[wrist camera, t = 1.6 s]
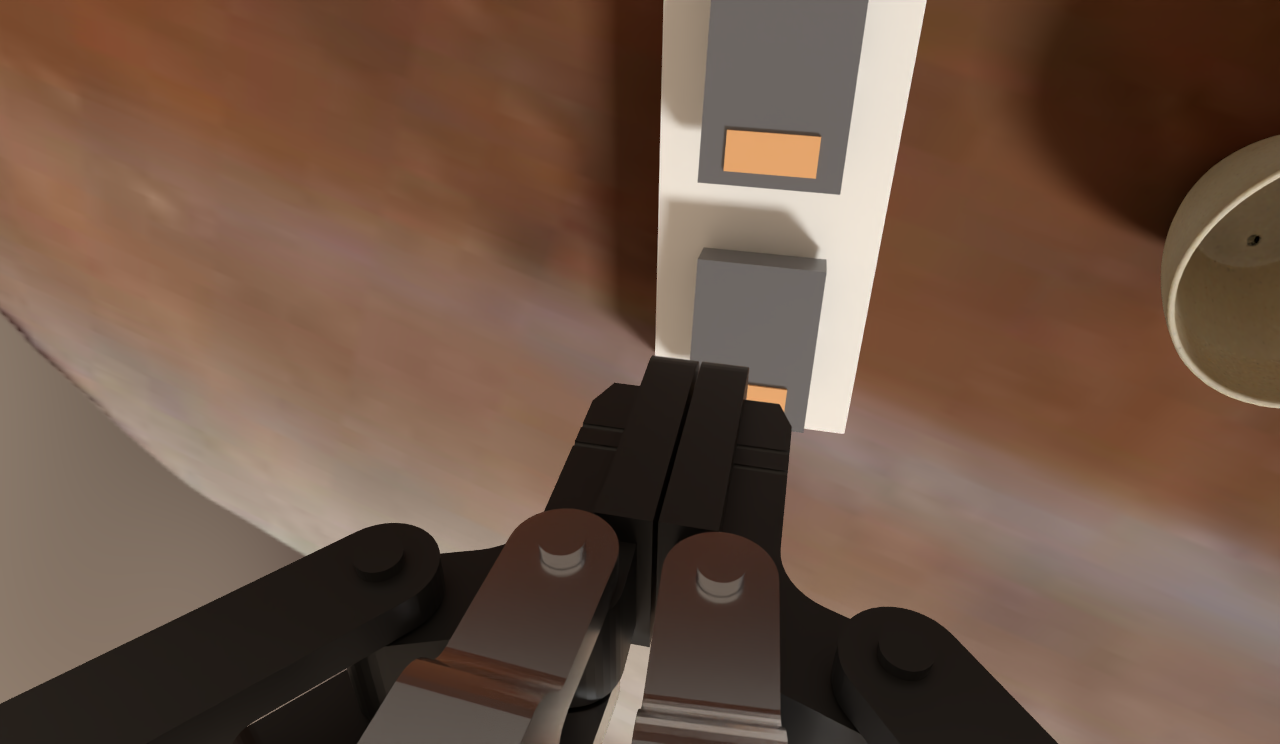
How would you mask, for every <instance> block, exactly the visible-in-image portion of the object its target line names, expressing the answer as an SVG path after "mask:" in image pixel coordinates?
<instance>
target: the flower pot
mask: <svg viewBox="0 0 1280 744" xmlns="http://www.w3.org/2000/svg"><path fill="white" fill-rule="evenodd" d="M1256 236H1259V241H1258V242H1257V243H1255V242H1254V239H1255V237H1256ZM1161 292H1162V302H1163V310H1164V315H1165V319H1166V323H1167V327H1168V330H1169V333H1170V336H1171V339H1172V342H1173V344H1174V347H1175V349H1176V351H1177V353H1178V354H1179V356H1180V358H1181V359H1182V360H1183V362H1184V363H1185V365H1186V366H1187V367H1188V368H1189V369H1190V370H1191V371H1192V372H1193V373H1194V374H1195V375H1196V376H1197V377H1198V378H1199V379H1201V380H1202V381H1203V382H1204V383H1205V384H1207V385H1208V386H1210V387H1212V388H1213V389H1215V390H1217V391H1218V392H1220V393H1222V394H1225V395H1227V396H1229V397H1232V398H1234V399H1237V400H1240V401H1243V402H1247V403H1251V404H1255V405H1259V406H1265V407H1272V408H1280V135H1276V136H1273V137H1270V138H1266V139H1263V140H1261V141H1258V142H1255V143H1253V144H1250V145H1248V146H1246V147H1244V148H1242V149H1240V150H1238V151H1236V152H1234V153H1232V154H1231V155H1229V156H1228V157H1226V158H1224V159H1223V160H1221V161H1220V162H1218V163H1217V164H1216V165H1214V166H1213V167H1212V168H1211V169H1209V170H1208V171H1207V172H1206V173H1205V174H1204V175H1203V176H1202V177H1201V178H1200V179H1199V180H1198V181H1197V182H1196V184H1195V185H1194V186H1193V187H1192V188H1191V190H1190V191H1189V192H1188V194H1187V195H1186V197H1185V198H1184V200H1183V201H1182V203H1181V205H1180V207H1179V209H1178V211H1177V213H1176V215H1175V217H1174V219H1173V221H1172V223H1171V226H1170V229H1169V231H1168V235H1167V238H1166V241H1165V246H1164V251H1163V257H1162V265H1161Z"/></svg>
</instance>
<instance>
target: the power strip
mask: <svg viewBox="0 0 1280 744" xmlns="http://www.w3.org/2000/svg"><path fill="white" fill-rule="evenodd" d="M926 1H927V0H869V1H868V8H867V15H866V22H865V28H864V35H863V42H862V49H861V56H860V63H859V70H858V76H857V83H856V90H855V97H854V104H853V111H852V118H851V124H850V131H849V138H848V145H847V152H846V159H845V166H844V172H843V179H842V186H841V193H840V195H836V194H824V193H813V192H801V191H790V190H778V189H766V188H755V187H743V186H732V185H720V184H708V183H697V182H698V169H699V155H700V141H701V128H702V114H703V101H704V87H705V74H706V60H707V47H708V33H709V19H710V6H711V0H664V4H663V46H662V88H661V130H660V172H659V214H658V256H657V298H656V340H655V356H661V357H669V358H678V359H686V360H690V352H691V339H692V326H693V313H694V299H695V286H696V273H697V260H698V257H699V255H700V253H701V252H702V250H703V248H704V247H705V248H715V249H726V250H736V251H746V252H756V253H766V254H776V255H786V256H796V257H806V258H816V259H826V260H827V274H826V280H825V287H824V294H823V301H822V308H821V315H820V322H819V329H818V336H817V343H816V350H815V356H814V363H813V370H812V377H811V384H810V391H809V398H808V405H807V412H806V419H805V425H804V429H811V430H819V431H826V432H834V433H841V434H844V432H845V427H846V422H847V416H848V411H849V406H850V401H851V395H852V390H853V385H854V380H855V374H856V369H857V364H858V359H859V353H860V348H861V343H862V338H863V332H864V327H865V322H866V316H867V311H868V306H869V301H870V295H871V290H872V285H873V280H874V274H875V269H876V264H877V259H878V253H879V248H880V243H881V238H882V232H883V227H884V222H885V217H886V211H887V206H888V201H889V196H890V190H891V185H892V180H893V175H894V169H895V164H896V159H897V153H898V148H899V143H900V138H901V132H902V127H903V122H904V117H905V111H906V106H907V101H908V96H909V90H910V85H911V80H912V75H913V69H914V64H915V59H916V54H917V48H918V43H919V38H920V33H921V27H922V22H923V17H924V12H925V6H926Z"/></svg>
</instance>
